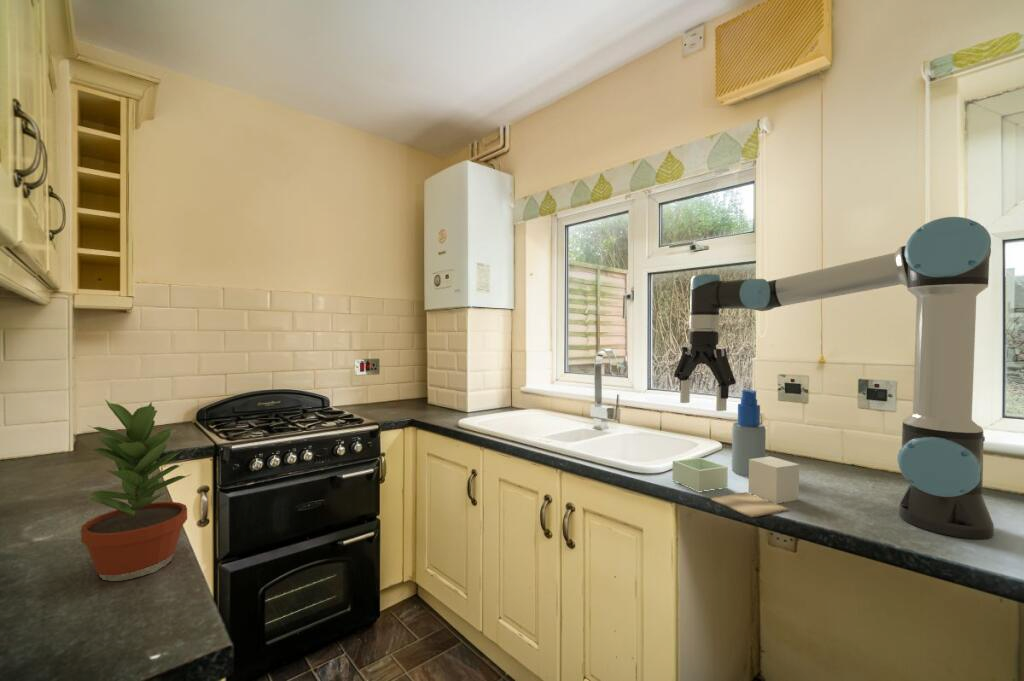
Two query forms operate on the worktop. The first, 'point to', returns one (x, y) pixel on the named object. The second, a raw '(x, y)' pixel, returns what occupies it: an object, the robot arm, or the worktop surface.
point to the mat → (749, 504)
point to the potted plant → (134, 499)
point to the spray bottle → (747, 434)
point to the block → (774, 479)
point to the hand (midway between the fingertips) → (702, 406)
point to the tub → (700, 474)
